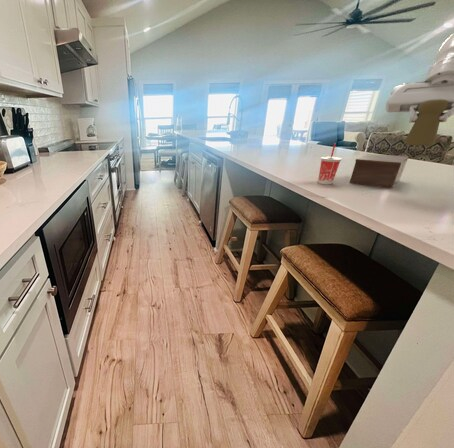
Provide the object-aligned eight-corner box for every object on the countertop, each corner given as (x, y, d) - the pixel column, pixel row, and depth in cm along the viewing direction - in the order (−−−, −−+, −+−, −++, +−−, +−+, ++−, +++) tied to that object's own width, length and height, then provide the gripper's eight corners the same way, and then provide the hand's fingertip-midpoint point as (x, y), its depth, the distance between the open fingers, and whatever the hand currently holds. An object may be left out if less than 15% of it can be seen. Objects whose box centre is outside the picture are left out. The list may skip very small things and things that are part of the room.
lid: (400, 165, 76) (401, 162, 76) (355, 161, 84) (355, 159, 84) (407, 158, 84) (408, 156, 84) (365, 155, 93) (366, 153, 92)
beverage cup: (331, 180, 91) (341, 142, 86) (337, 185, 86) (349, 144, 80) (313, 180, 93) (322, 142, 87) (318, 184, 88) (328, 144, 82)
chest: (391, 188, 80) (400, 164, 77) (349, 182, 88) (355, 161, 85) (399, 180, 88) (407, 159, 84) (359, 176, 96) (365, 156, 93)
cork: (414, 145, 65) (432, 99, 60) (398, 143, 70) (412, 100, 66) (441, 144, 64) (460, 98, 59) (422, 142, 69) (438, 99, 65)
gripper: (396, 75, 71) (377, 113, 69) (514, 62, 56) (494, 109, 55) (393, 93, 75) (376, 128, 74) (502, 85, 61) (483, 129, 59)
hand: (427, 120), depth 64 cm, fingers closed on cork, 4 cm apart
